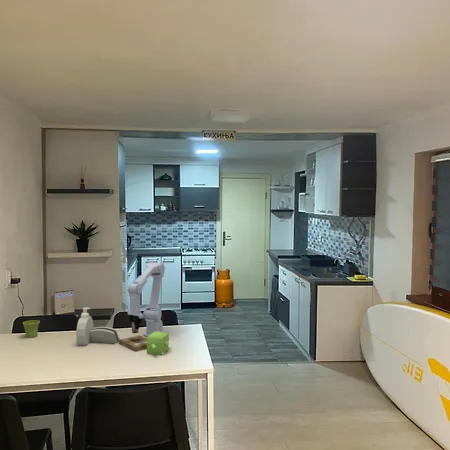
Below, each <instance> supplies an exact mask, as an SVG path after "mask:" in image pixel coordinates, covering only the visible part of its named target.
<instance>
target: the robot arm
mask: <svg viewBox="0 0 450 450" xmlns="http://www.w3.org/2000/svg"><path fill="white" fill-rule="evenodd" d="M165 269H166V267H165V264H164V263H163V262H151V261H149V262H148V263H146V265H145V270H144V272H143V273H142V275H139V276H138V277H137V278H136V279H135V280H134V281H133V283H130V284H129V285H128V287H127V293H128V296H129V310H127V314H128V315H127V319H128V320H129V323H130V328H131V329H132V322H133V321H134V325H135V330H138V331H139V329H140V328H141V327H140V326H141V323H142V320H143V319H144V321H146V324H145V325H146V332H145V333H143V335H144V336H145V337H146V336H147V337H148V336H149V335H150V334H151V333H153V332H154V331H159V332H164V327H163V326H164V324H163V321H162V320H161V318H162V308H161V306H160V305H159V299H160V293H161V286H162V279H163V277H164V275H165ZM149 277H152V286H151V290H150V291H151V292H150V298H149V299H150V300H149V303H148V304H147V305H145V308H144V311H143V313H142V312H141V294H142V292H143V289H144V286H145V285H146V284H147V283H148V278H149Z"/></svg>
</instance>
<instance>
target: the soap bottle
mask: <svg viewBox="0 0 450 450" xmlns="http://www.w3.org/2000/svg"><path fill="white" fill-rule="evenodd" d="M88 310H91V307H83V308H82V312H81V315H80V318H78V321H77V324H76V331H75V332H76V337H75V339H76V343H77V346H87V345H88V344H89V343H90V342H91V340H90V332H91V330H92V329H93V328H94V320H93V317H92V316H90V313H89V312H88Z"/></svg>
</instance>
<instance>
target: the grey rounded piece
mask: <svg viewBox="0 0 450 450" xmlns="http://www.w3.org/2000/svg"><path fill="white" fill-rule="evenodd" d="M90 340H91V341H90V342H92V343H106V344H108V343H109V344H118V343H119V340H120V337H119V334H118V332H117V329H115V328H112V327H108V326H97V327H93V329H92V330H91V332H90Z"/></svg>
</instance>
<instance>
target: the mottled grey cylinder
mask: <svg viewBox="0 0 450 450" xmlns="http://www.w3.org/2000/svg"><path fill="white" fill-rule="evenodd" d="M131 333H132V334H138V333H139V329H138V330H135V325H134V321H133V322H132V328H131Z"/></svg>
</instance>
